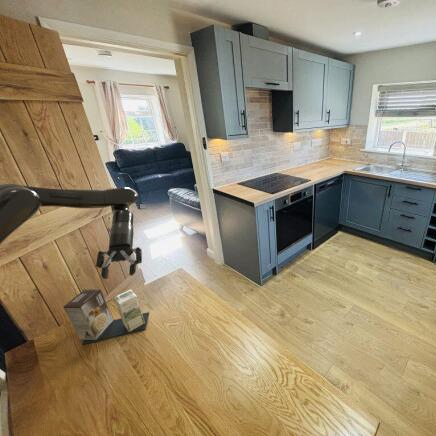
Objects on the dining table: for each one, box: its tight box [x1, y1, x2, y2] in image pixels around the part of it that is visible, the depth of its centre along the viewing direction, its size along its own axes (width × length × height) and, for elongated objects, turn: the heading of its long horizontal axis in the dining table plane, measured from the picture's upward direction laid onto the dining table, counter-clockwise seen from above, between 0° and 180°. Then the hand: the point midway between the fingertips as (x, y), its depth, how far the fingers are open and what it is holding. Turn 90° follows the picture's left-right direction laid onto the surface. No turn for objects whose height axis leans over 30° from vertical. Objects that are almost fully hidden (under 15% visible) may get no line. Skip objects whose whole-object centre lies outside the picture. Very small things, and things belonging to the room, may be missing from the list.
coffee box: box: [63, 288, 114, 340], centre depth 88 cm, size 9×6×16 cm
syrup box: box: [113, 289, 145, 332], centre depth 90 cm, size 6×6×14 cm
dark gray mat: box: [81, 311, 150, 346], centre depth 92 cm, size 20×9×1 cm, turn 111°
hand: (118, 276), depth 88 cm, fingers open, 8 cm apart
